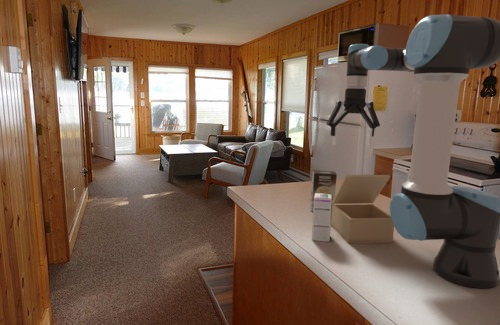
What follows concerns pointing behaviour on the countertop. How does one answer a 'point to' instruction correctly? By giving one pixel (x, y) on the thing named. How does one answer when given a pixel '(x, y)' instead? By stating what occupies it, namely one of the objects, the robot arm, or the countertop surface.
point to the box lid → (360, 189)
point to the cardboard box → (362, 223)
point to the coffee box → (323, 184)
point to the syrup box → (321, 217)
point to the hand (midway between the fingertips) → (351, 145)
